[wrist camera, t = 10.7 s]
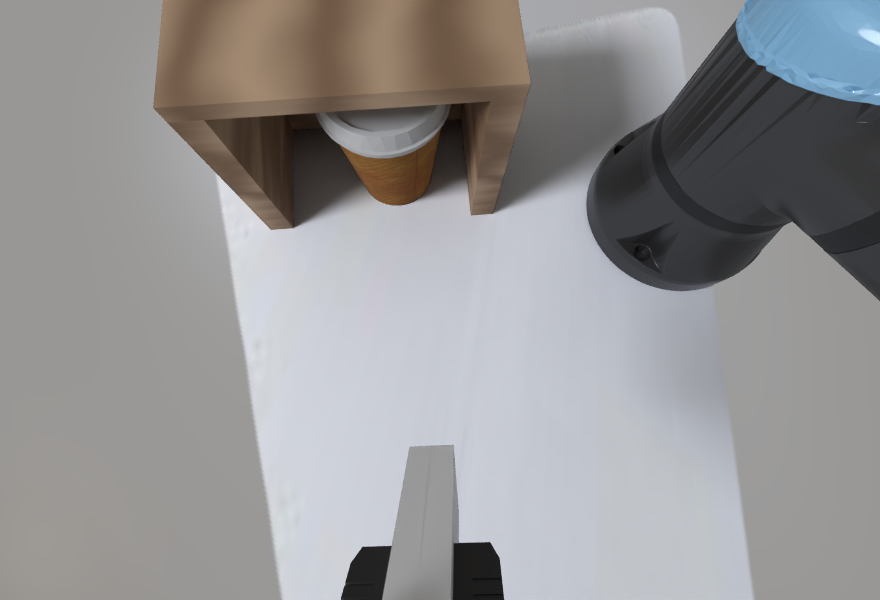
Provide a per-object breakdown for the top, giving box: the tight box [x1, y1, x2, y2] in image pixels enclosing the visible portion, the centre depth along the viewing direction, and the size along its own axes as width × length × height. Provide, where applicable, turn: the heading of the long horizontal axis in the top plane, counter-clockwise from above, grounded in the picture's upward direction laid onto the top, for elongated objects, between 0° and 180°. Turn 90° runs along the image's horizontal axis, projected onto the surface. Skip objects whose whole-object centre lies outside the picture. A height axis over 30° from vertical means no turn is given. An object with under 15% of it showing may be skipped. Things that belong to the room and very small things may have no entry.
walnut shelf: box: [153, 0, 531, 230], centre depth 32 cm, size 20×11×16 cm, turn 95°
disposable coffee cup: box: [315, 104, 451, 205], centre depth 34 cm, size 10×10×12 cm
